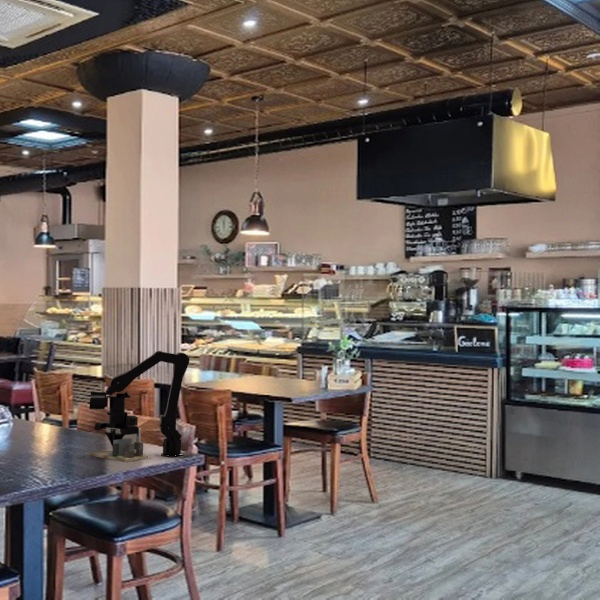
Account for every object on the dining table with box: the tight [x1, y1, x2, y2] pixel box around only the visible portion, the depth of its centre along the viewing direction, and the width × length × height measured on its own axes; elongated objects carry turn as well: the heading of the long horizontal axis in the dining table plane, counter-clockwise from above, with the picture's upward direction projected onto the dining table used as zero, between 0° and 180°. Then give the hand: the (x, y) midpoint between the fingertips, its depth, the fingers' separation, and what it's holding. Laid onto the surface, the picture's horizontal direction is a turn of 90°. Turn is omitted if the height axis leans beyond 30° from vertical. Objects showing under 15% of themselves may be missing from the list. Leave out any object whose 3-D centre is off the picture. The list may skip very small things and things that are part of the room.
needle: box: [112, 443, 119, 455], centre depth 293 cm, size 2×2×4 cm
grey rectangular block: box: [109, 438, 137, 456], centre depth 295 cm, size 8×9×6 cm
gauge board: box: [89, 442, 149, 463], centre depth 299 cm, size 20×11×6 cm, turn 55°
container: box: [122, 414, 142, 444], centre depth 319 cm, size 8×8×13 cm
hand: (115, 451), depth 300 cm, fingers closed
